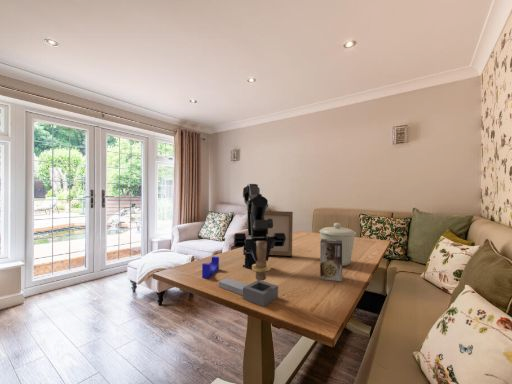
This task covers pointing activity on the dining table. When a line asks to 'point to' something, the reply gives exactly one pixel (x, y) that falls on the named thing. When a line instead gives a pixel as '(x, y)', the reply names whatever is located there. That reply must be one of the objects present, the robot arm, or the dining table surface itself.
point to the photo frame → (281, 230)
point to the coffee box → (331, 259)
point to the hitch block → (252, 290)
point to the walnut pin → (261, 261)
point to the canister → (340, 234)
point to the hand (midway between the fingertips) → (261, 260)
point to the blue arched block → (210, 267)
